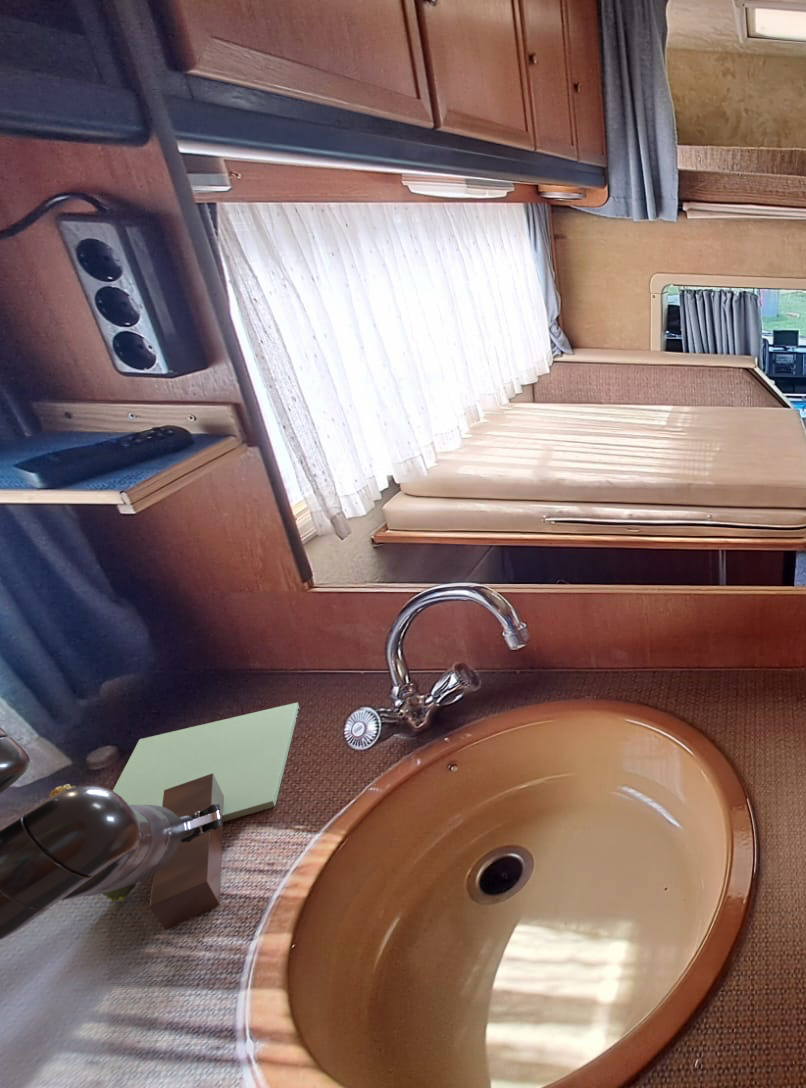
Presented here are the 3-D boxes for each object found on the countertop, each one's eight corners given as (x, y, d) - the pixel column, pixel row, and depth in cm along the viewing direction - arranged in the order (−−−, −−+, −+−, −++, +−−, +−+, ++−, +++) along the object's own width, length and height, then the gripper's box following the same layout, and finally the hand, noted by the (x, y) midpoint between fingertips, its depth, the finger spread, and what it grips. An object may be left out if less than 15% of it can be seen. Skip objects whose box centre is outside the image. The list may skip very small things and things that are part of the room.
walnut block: (149, 906, 72) (163, 790, 84) (164, 929, 74) (176, 813, 86) (207, 881, 75) (213, 772, 87) (220, 905, 77) (224, 795, 89)
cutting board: (80, 863, 80) (77, 857, 80) (142, 744, 98) (139, 739, 97) (275, 806, 90) (273, 800, 89) (299, 707, 107) (297, 702, 107)
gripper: (201, 777, 65) (236, 782, 78) (6, 845, 57) (82, 837, 70) (214, 849, 63) (247, 841, 76) (16, 930, 55) (92, 906, 68)
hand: (168, 840), depth 73 cm, fingers closed
